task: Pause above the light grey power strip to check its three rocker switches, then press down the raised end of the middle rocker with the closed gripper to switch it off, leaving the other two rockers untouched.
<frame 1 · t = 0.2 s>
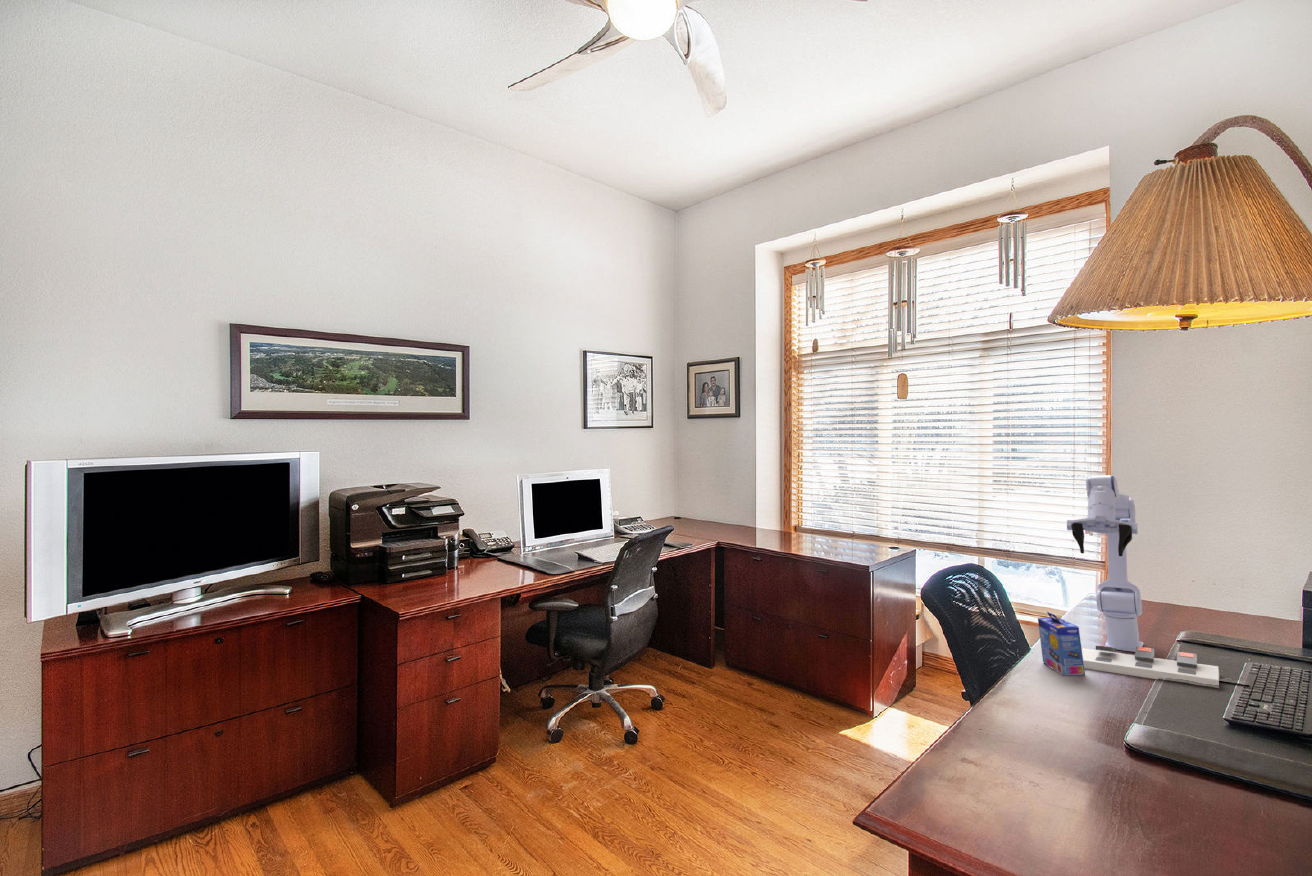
hand: (1100, 552, 146), 31 cm above the table, tool tilted 45°, fingers open, 7 cm apart
power strip: (1145, 670, 147), on the table
rocker far end: (1105, 648, 154), point 4 cm above the table, hinge at -15.0°
ink cartridge box: (1062, 670, 151), on the table
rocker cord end: (1186, 659, 143), point 4 cm above the table, hinge at 15.0°
rocker middle: (1144, 654, 149), point 4 cm above the table, hinge at 15.0°
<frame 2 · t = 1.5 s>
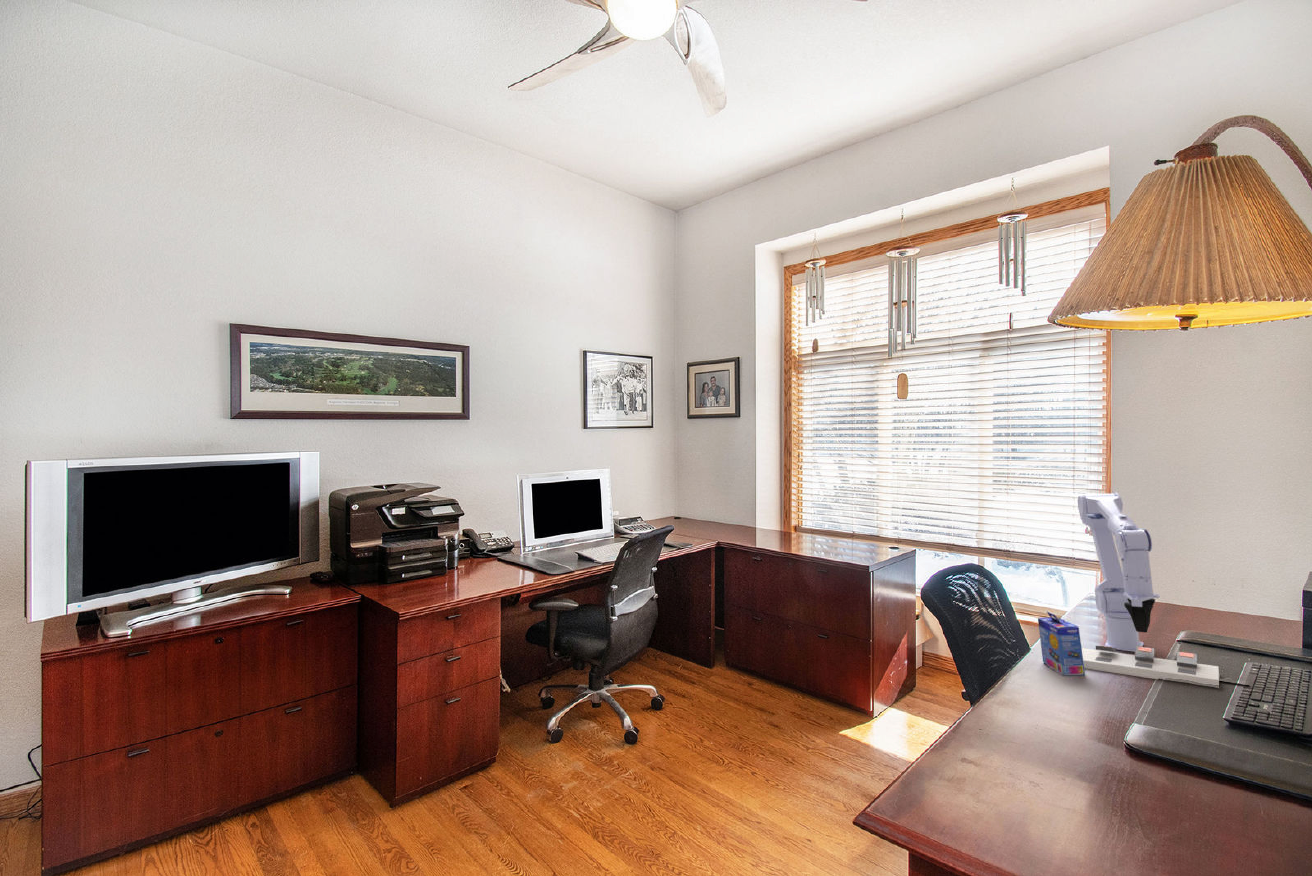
hand: (1142, 629, 150), 9 cm above the table, tool pointing down, fingers open, 5 cm apart
nothing on the table moved.
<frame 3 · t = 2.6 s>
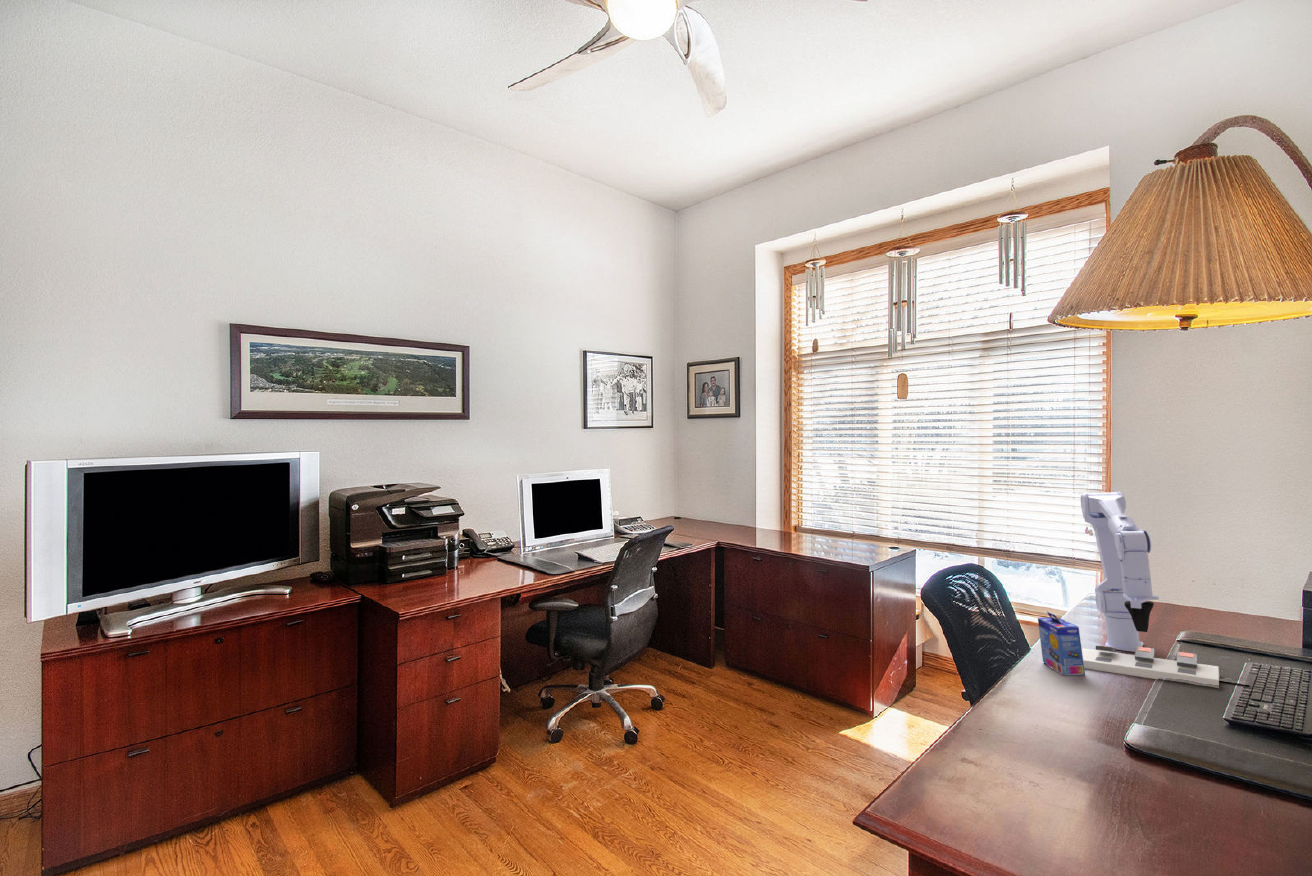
hand: (1142, 631, 149), 9 cm above the table, tool pointing down, fingers closed
nothing on the table moved.
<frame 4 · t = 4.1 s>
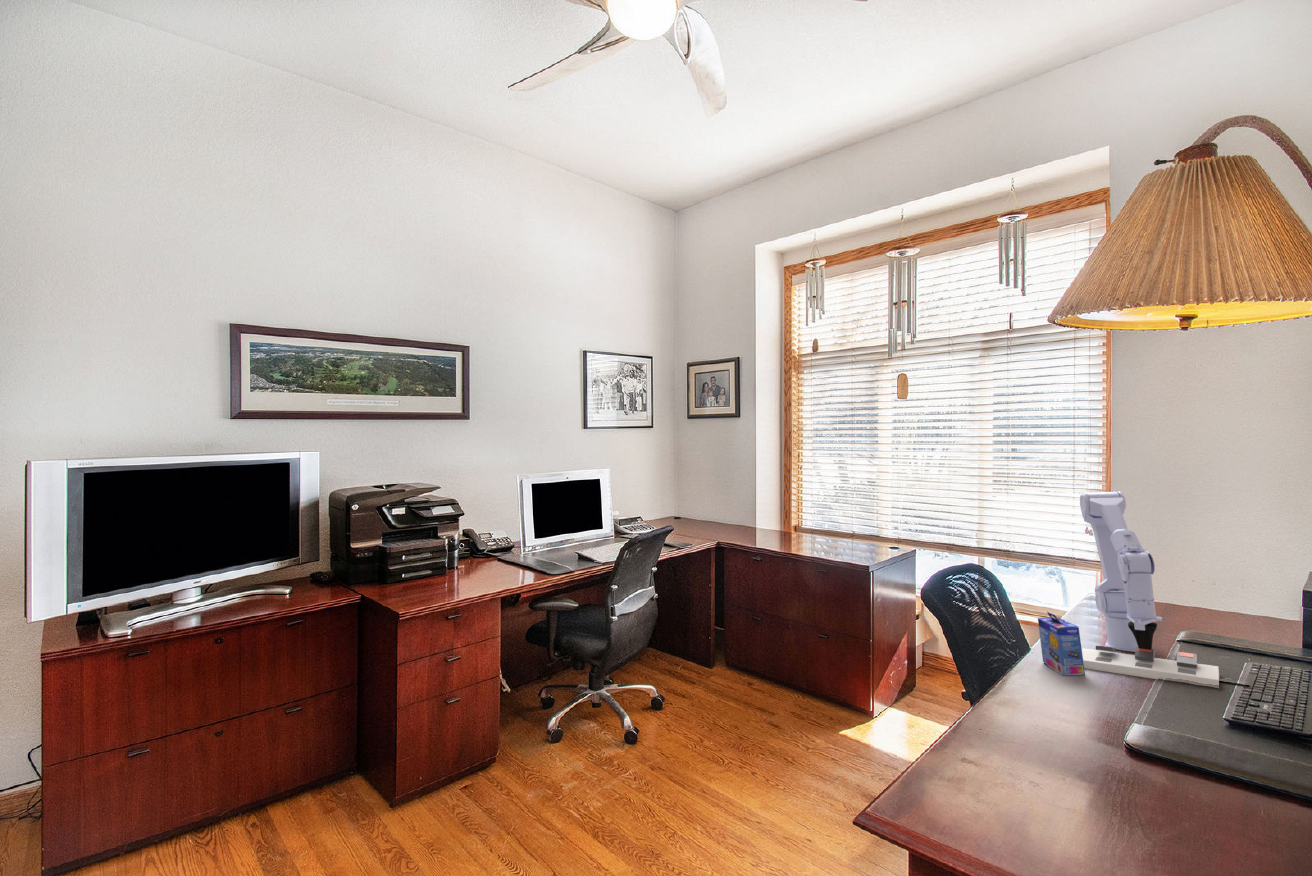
hand: (1145, 651, 150), 4 cm above the table, tool pointing down, fingers closed, pressing on rocker middle
rocker middle: (1144, 654, 149), point 4 cm above the table, hinge at 12.7°, touching gripper
everything else where it was.
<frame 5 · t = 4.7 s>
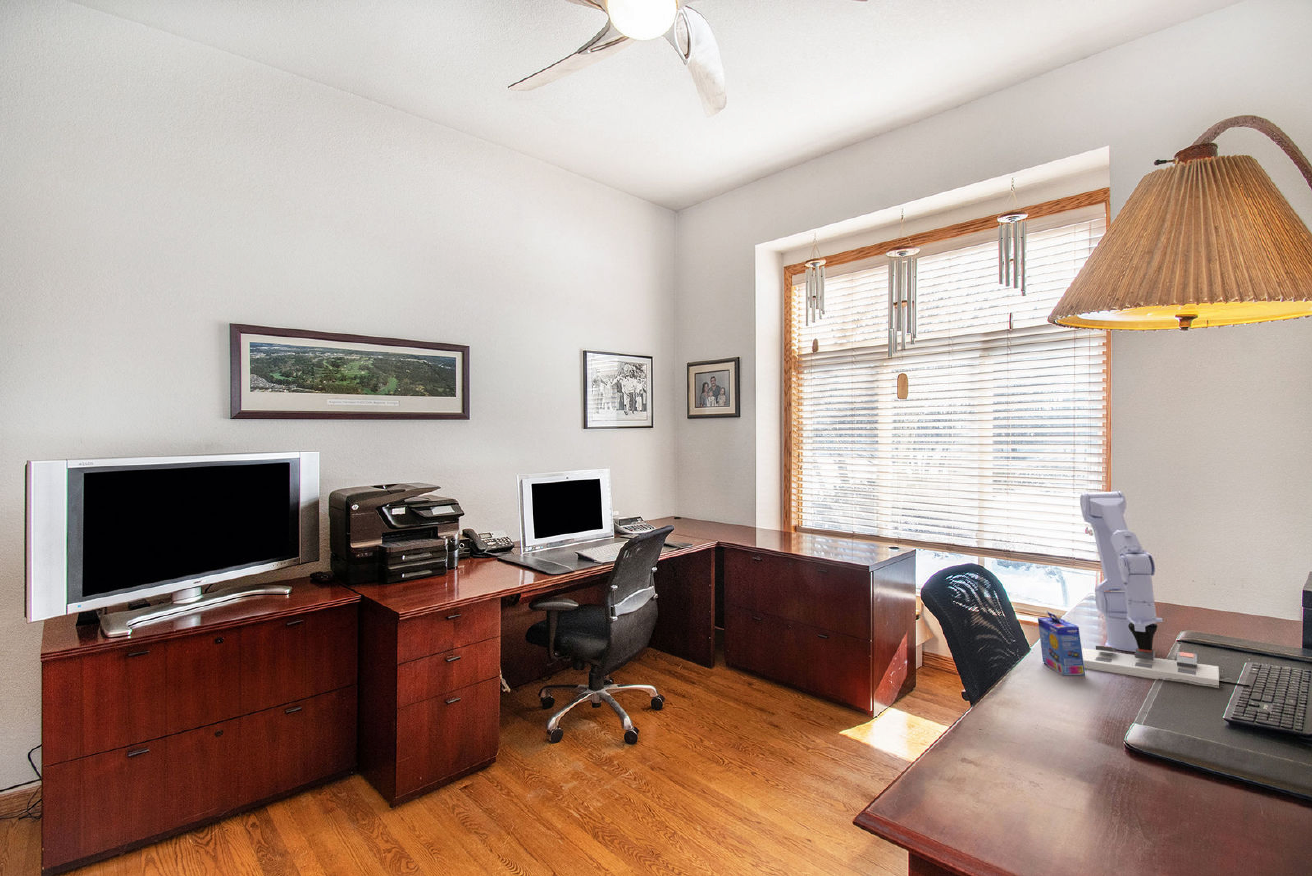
hand: (1145, 653, 150), 3 cm above the table, tool pointing down, fingers closed, pressing on rocker middle
rocker middle: (1144, 653, 149), point 4 cm above the table, hinge at 2.4°, touching gripper
everything else where it was.
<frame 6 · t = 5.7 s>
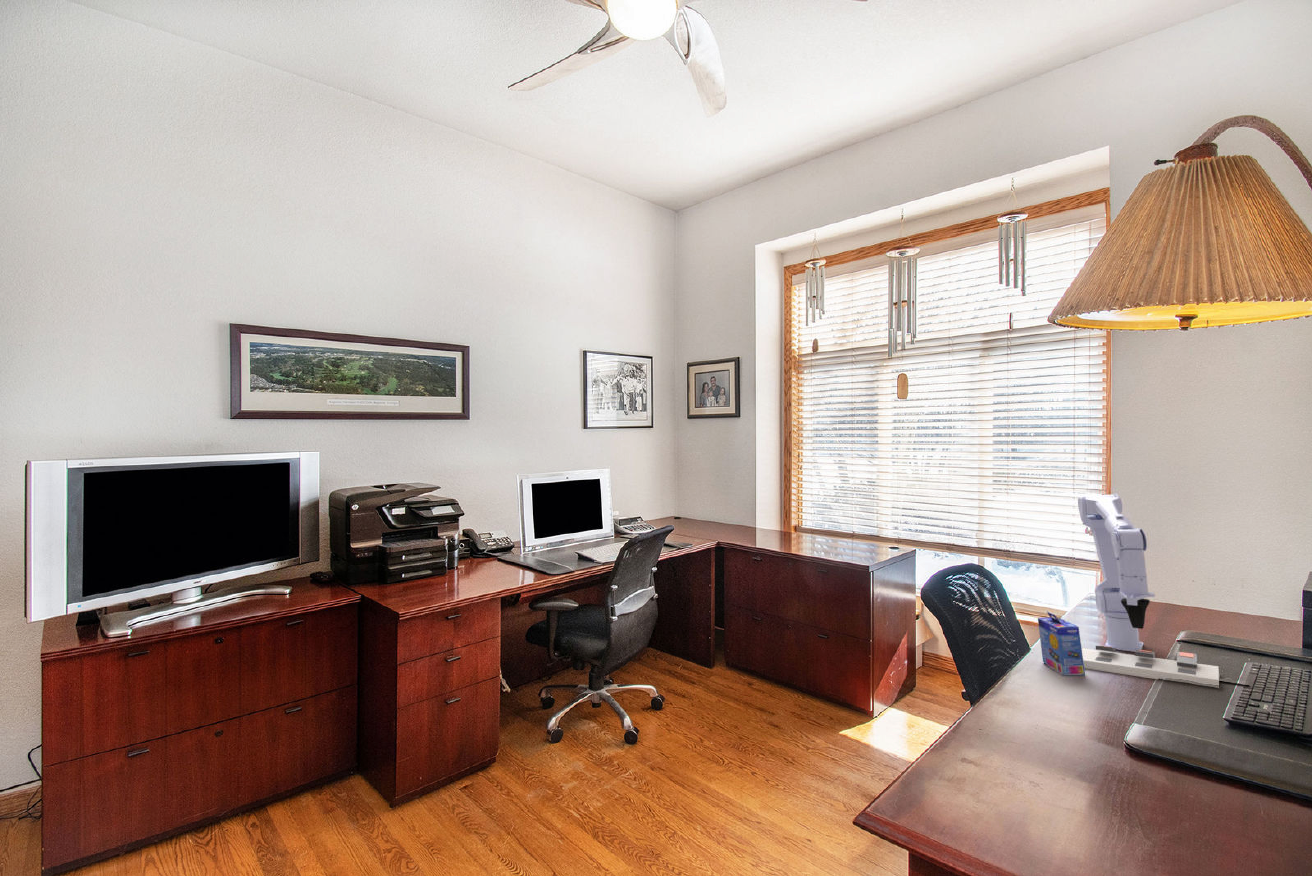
hand: (1138, 627, 152), 9 cm above the table, tool pointing down, fingers closed
rocker middle: (1144, 653, 149), point 4 cm above the table, hinge at -9.0°
everything else where it was.
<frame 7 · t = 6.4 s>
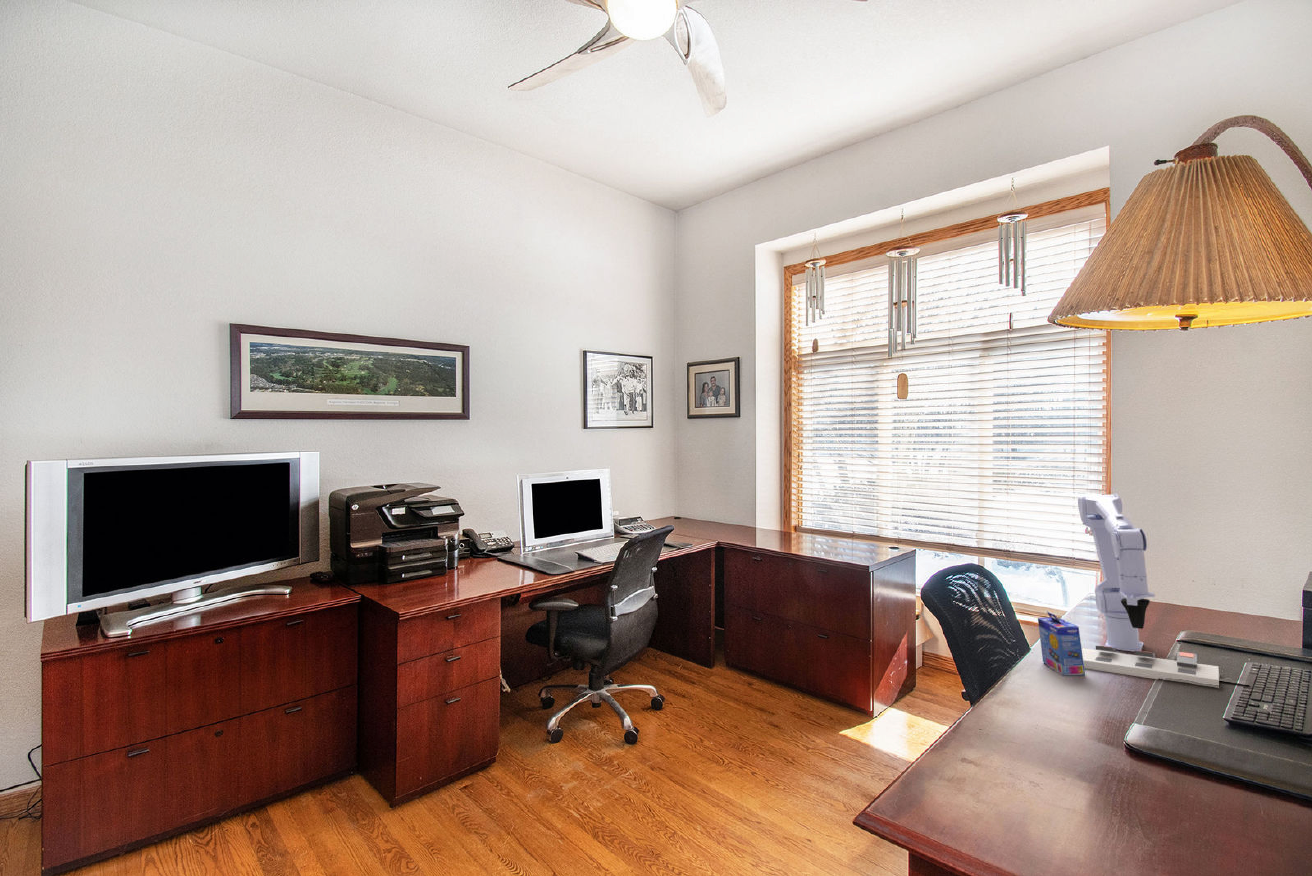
hand: (1138, 627, 152), 9 cm above the table, tool pointing down, fingers closed
rocker middle: (1144, 653, 149), point 4 cm above the table, hinge at -14.8°
everything else where it was.
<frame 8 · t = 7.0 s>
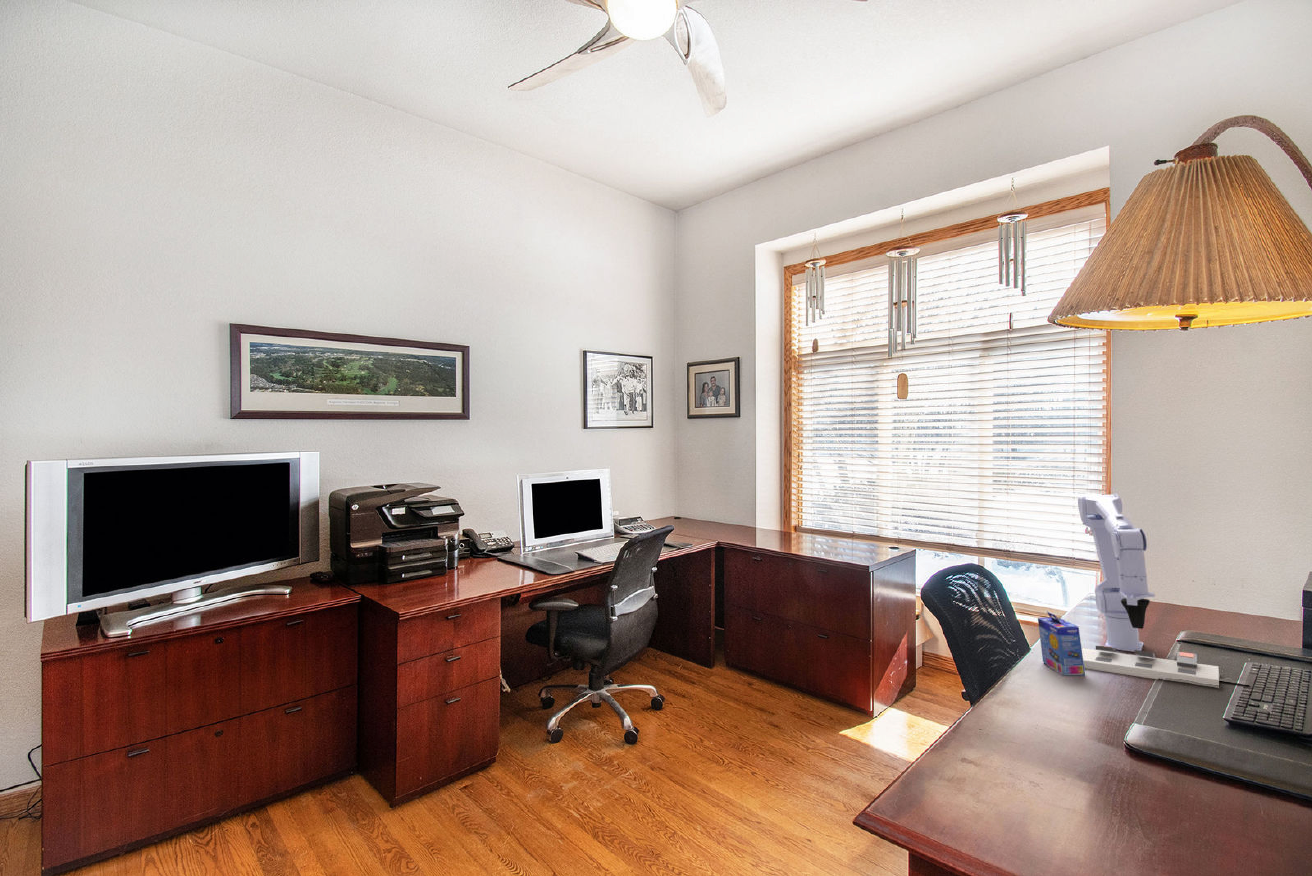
hand: (1138, 627, 152), 9 cm above the table, tool pointing down, fingers closed
rocker middle: (1144, 653, 149), point 4 cm above the table, hinge at -18.9°
everything else where it was.
at the end: rocker middle at -19° (first picture: +15°); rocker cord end at +15° (first picture: +15°); rocker far end at -15° (first picture: -15°) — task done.
